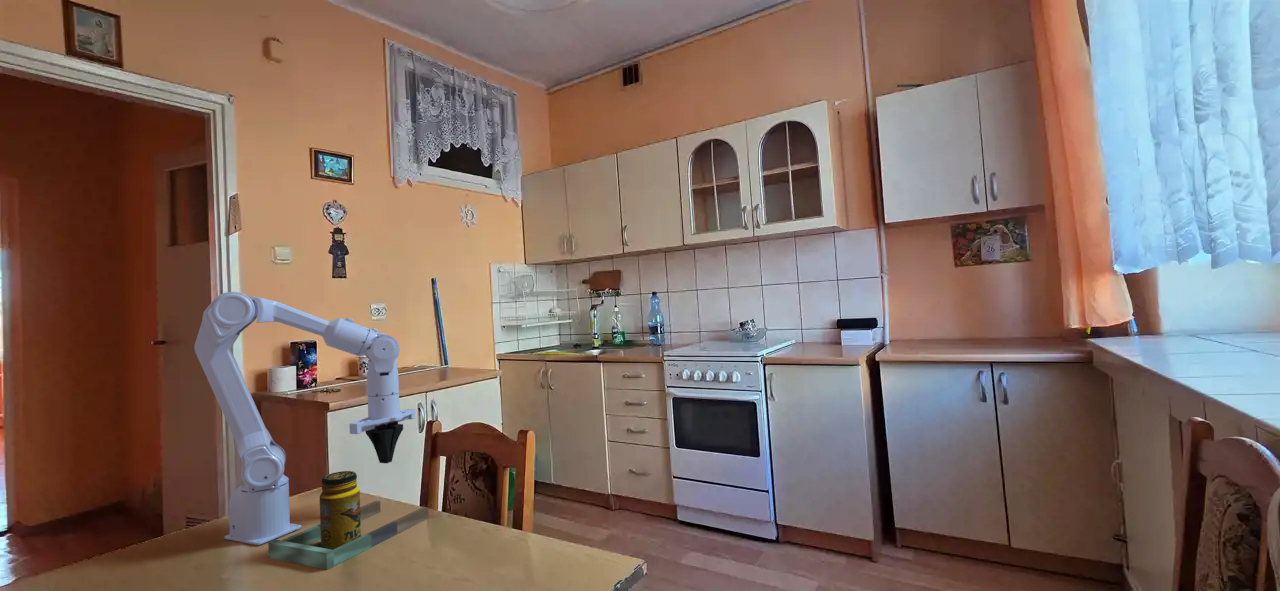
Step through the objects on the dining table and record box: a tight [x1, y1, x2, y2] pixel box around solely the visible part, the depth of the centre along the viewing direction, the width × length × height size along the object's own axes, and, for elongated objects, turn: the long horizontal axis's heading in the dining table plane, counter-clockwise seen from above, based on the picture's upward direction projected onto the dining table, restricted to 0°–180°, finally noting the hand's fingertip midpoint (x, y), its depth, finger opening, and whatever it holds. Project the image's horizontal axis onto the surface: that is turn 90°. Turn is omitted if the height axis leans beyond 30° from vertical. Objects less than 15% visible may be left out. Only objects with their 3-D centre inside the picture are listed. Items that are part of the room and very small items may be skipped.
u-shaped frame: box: [267, 500, 430, 571], centre depth 97 cm, size 13×21×2 cm, turn 158°
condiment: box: [308, 470, 362, 550], centre depth 93 cm, size 7×8×12 cm
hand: (385, 462), depth 110 cm, fingers closed
